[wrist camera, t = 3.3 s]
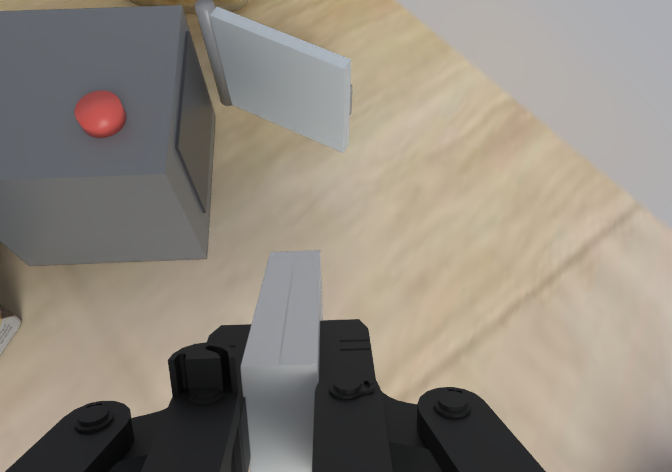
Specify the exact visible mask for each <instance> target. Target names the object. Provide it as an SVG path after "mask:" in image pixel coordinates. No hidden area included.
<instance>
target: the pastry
mask: <svg viewBox="0 0 672 472" xmlns="http://www.w3.org/2000/svg"><path fill="white" fill-rule="evenodd" d="M131 1H132V2H133V3H136V4H139V5H141V6H175V5H182V7H183V10H184V13H196V9H195V3H196V2H197V1H198V0H131ZM212 1H213V2H214V5H215V8H216V7H220V8H222V9H225V10H227V11H230V12H231V11H236V10H239V9H241V8H243V7H244V6H245V5H246V3H247V0H212Z"/></svg>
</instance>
